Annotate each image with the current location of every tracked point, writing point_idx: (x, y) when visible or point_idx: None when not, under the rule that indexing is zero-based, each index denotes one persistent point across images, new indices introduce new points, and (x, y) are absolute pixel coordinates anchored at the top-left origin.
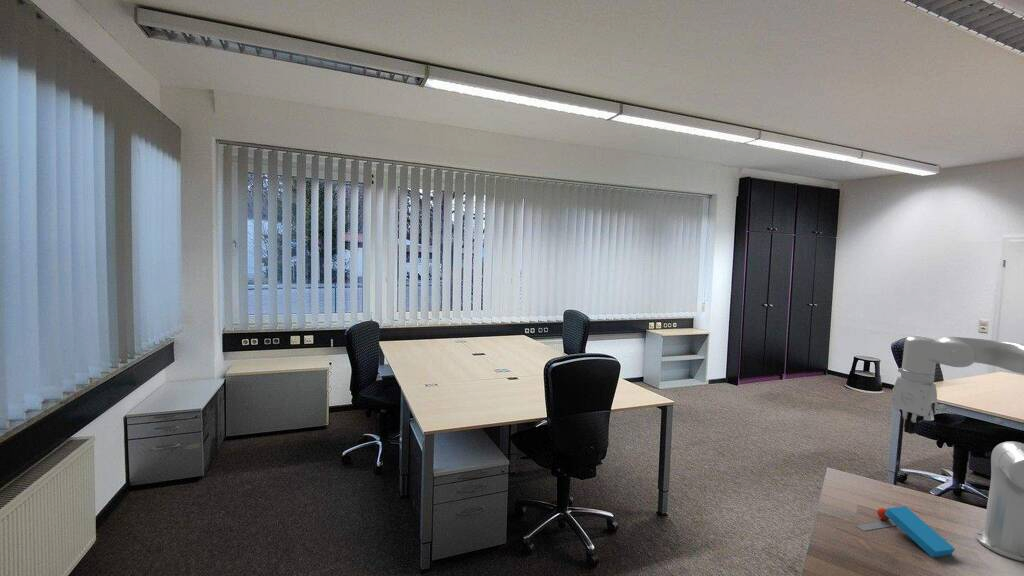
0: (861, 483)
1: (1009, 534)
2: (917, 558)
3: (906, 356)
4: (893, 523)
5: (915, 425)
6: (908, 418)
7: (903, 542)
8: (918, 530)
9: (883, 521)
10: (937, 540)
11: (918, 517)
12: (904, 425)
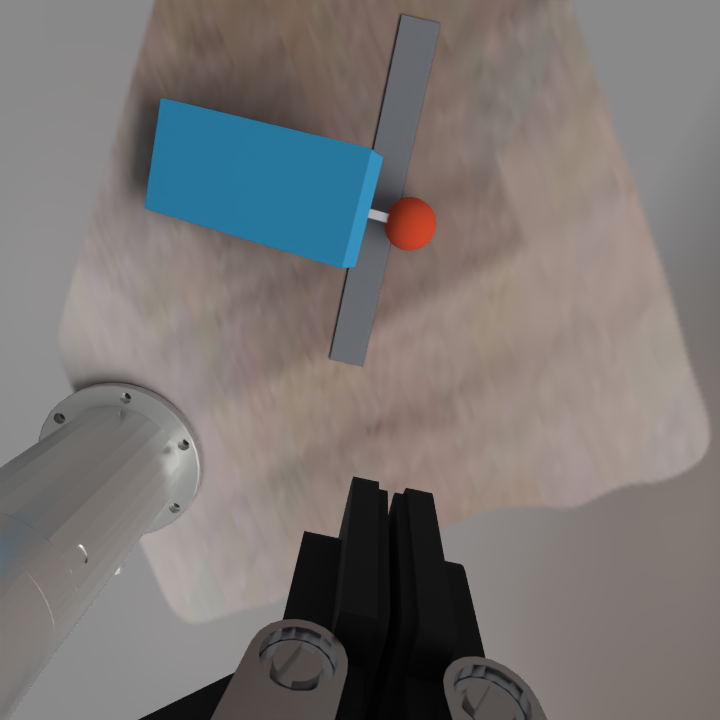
0: (598, 457)
1: (52, 435)
2: (200, 34)
3: None
4: (371, 226)
5: (285, 611)
6: (425, 712)
7: (282, 108)
8: (243, 154)
9: (398, 199)
10: (187, 180)
11: (282, 248)
12: (464, 585)
